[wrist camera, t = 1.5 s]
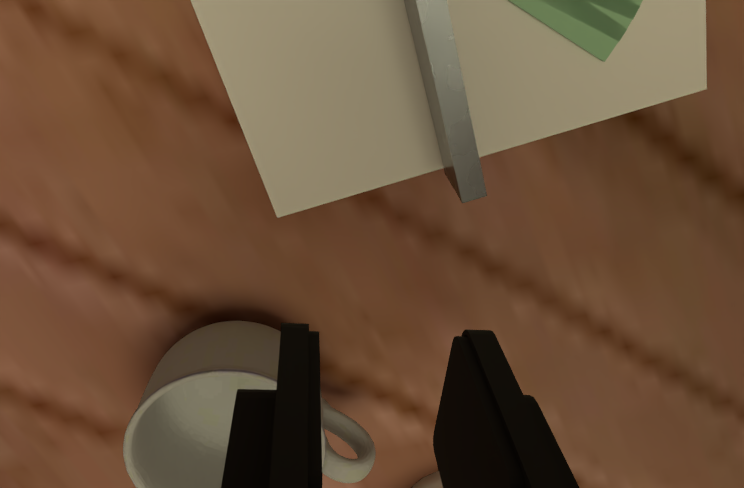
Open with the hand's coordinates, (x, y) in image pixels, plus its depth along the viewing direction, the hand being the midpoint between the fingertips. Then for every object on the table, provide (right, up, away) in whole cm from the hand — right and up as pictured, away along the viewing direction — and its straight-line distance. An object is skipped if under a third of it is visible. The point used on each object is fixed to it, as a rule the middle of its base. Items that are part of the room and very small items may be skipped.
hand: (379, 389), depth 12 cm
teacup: (-7, -6, +27) cm, 29 cm away
